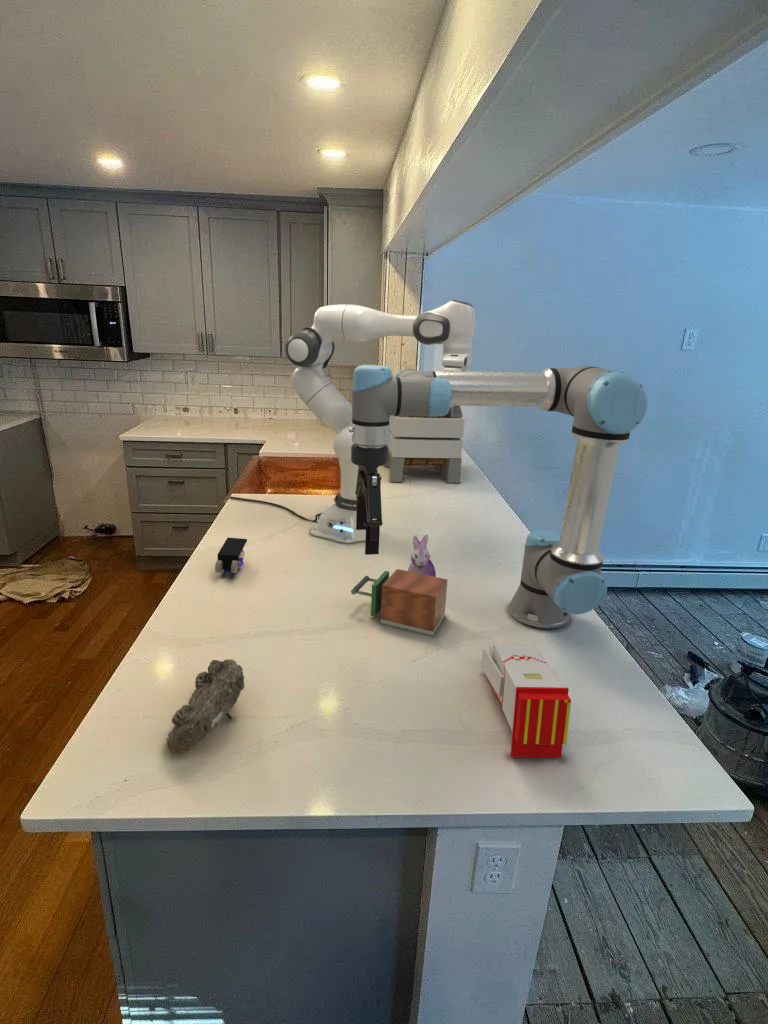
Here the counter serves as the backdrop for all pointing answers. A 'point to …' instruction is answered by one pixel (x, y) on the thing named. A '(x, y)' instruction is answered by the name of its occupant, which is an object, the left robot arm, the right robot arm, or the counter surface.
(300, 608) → the counter surface
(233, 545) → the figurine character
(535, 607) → the right robot arm
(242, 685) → the fossil
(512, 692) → the toy
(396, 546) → the counter surface
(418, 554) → the figurine
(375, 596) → the drawer
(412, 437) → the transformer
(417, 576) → the cabinet
